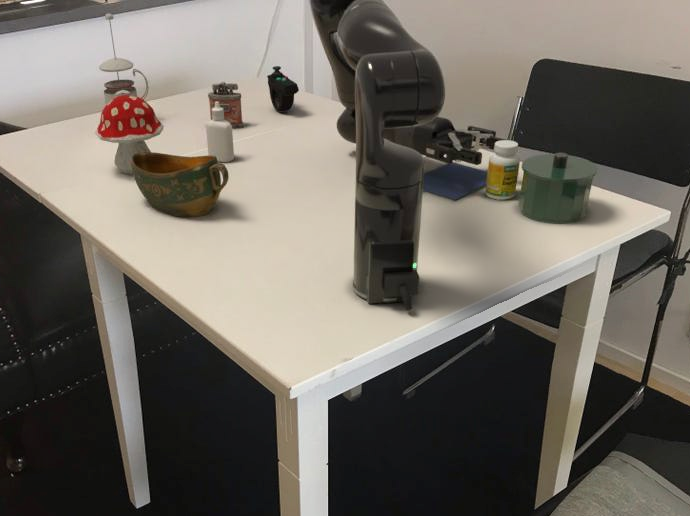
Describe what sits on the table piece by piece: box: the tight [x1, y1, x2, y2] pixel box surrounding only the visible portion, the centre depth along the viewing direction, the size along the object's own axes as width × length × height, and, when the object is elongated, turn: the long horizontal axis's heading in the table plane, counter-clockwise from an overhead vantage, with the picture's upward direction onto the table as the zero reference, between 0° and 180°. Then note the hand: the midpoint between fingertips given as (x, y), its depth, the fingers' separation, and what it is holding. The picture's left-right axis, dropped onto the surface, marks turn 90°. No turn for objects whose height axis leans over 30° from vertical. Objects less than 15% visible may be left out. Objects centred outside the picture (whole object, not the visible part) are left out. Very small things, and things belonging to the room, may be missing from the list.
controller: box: [266, 65, 300, 113], centre depth 187 cm, size 4×12×10 cm, turn 22°
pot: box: [518, 171, 594, 224], centre depth 133 cm, size 11×11×8 cm
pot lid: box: [521, 152, 599, 182], centre depth 130 cm, size 12×12×3 cm
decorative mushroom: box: [94, 95, 165, 175], centre depth 157 cm, size 14×14×15 cm
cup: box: [131, 151, 230, 218], centre depth 140 cm, size 13×20×10 cm, turn 28°
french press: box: [98, 13, 149, 106], centre depth 180 cm, size 10×12×25 cm
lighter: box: [207, 81, 244, 129], centre depth 180 cm, size 8×3×10 cm, turn 73°
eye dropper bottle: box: [205, 102, 235, 163], centre depth 160 cm, size 4×6×12 cm
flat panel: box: [423, 161, 488, 201], centre depth 148 cm, size 12×15×1 cm
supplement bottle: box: [485, 139, 521, 201], centre depth 139 cm, size 5×5×10 cm
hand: (494, 152), depth 139 cm, fingers open, 8 cm apart
